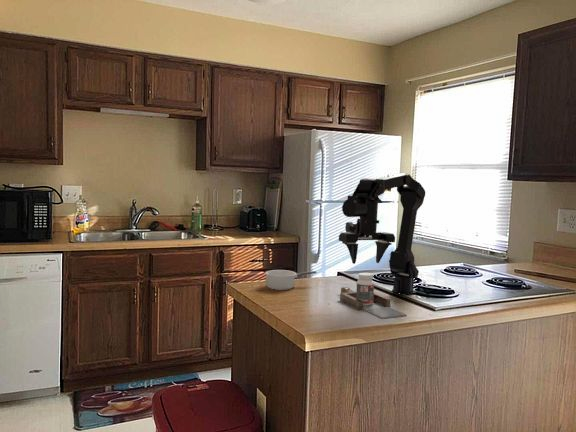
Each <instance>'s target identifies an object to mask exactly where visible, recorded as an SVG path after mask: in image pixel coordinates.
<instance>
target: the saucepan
mask: <svg viewBox="0 0 576 432" xmlns="http://www.w3.org/2000/svg"><path fill="white" fill-rule="evenodd" d="M264 273H265V285H266V286H265V287H267V288H268V289H270V288H271V290H274V289H275V290H276V291H286V290H290V289H292V288H294V287H295V279H299V278H300V277H302V276H304V275H313V274H317V271H316V270H314V271H313V270H312V271H302V272H299V273H298V272H295V271H294V270H293V271H292V270H288V269H287V270H286V269H272V270H271V269H270V270H266V271H265V272H264Z"/></svg>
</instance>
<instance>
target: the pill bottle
mask: <svg viewBox="0 0 576 432" xmlns="http://www.w3.org/2000/svg"><path fill="white" fill-rule="evenodd" d="M373 279H374V274H373V273H372V272H371V273H370V272H360V273H358V280H357V281H356V291H355V292H356V299H359V300H361V301H363V306H372V305H373V304H374V301H373V299H374V292H375V282H374V281H373Z"/></svg>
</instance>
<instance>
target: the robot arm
mask: <svg viewBox="0 0 576 432" xmlns="http://www.w3.org/2000/svg"><path fill="white" fill-rule="evenodd" d="M394 188H396V191H397V193H398V194H399V196H400V198H399V200H400V201H399V202H400V204H401V206H402V215H401V222H400V228H399V235H398V240H397V246H396V248H395V249H394V251H393V250H391V251H390V255H389V260H388V264H389V270H390V275H392V276H394V279H393V285H392V286H393V287H392V289H391V290H392V291H391V292H393V291H395V292H394V293H396V292H398V293H400V294H399V295H401V294H405V295H413V293H417V292H416V291H414V281H415V280H414V279H417V278H418V276H419V272H420V271H419V269H418V267H416V264H415V255H414V254H413V250H412V245H413V239H414V235H415V227H416V221H417V219H416V218H417V214H418V210H419V209H420V208H421V207H422V205H423V204H424V201H425V197H426V189H425V188H424V187H423V185H422V184H421V182H419V181H417V180H415V179H414V178H413V177H412V175H410V174H408V173H396V174H394V175H390V176H389V175H388V176H385V177H380V178H361V179H360V180H359V183H358V184H357V186H356V187H355V189H354V191H353V193H352V195H347V199H345V200H344V201H343V204H342V206H341V211H342V213H343V215H344V216H345V217H347V218H357V217H358V218H357V219H356V223H353V222H352V221H350V222H348V221H347V222H346V223H345V232H342V231H341V232H340V233H339V235H338V242H342V243H341V244H343V245H345V246H346V247H347V250H348V252H349V255H350V259H351V262H352V264H353V265H355V264H356V262H357V256H358V249H359V243H357V242H358V241H374V243H375V245H376V250H375V251H376V253H375V262H376V263H377V264H379V263H380V261H381V260H382V258H383V257H384V254H385V252H386V251H387V250H388V248H389V247H390V246H392V244H393V243H396V236H395V233H391V232H385V231H383V232H382V231H380V232H379V231H378V232H377V226H378V224H380V220H379V219H378V208H379V204H382V203H383V201H382V199H381V198H380V197H379V196H381V195H383V194H384V193H385V192H386V191H388V190H390V189H394ZM398 293H397V294H398Z"/></svg>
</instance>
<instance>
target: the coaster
mask: <svg viewBox="0 0 576 432" xmlns="http://www.w3.org/2000/svg"><path fill="white" fill-rule="evenodd" d="M365 311H366V312H368V313H370V314H372V315H374V316H376V317H377V318H380V319H382V320H383V319H392V318H401V317H407V316H408V314H407V313H405V312H401V311H399V310H398V309H395V308H393V307H391V306H390V307H386V306H384V307H377V308H376V307H375V308H368V309H367V308H366V309H365Z"/></svg>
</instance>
